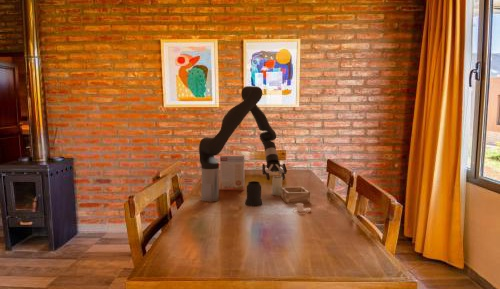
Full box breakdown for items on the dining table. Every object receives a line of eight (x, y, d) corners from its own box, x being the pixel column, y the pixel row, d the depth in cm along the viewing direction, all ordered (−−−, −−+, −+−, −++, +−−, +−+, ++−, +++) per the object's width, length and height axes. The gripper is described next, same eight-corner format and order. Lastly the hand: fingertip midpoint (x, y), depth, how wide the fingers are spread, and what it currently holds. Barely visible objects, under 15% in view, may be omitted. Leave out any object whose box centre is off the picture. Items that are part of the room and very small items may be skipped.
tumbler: (280, 195, 180) (280, 178, 179) (270, 194, 182) (271, 177, 181) (283, 193, 185) (283, 176, 184) (273, 192, 187) (274, 175, 186)
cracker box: (244, 188, 196) (244, 154, 193) (243, 191, 190) (243, 156, 188) (222, 187, 197) (221, 154, 195) (220, 190, 191) (220, 155, 189)
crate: (309, 202, 167) (310, 192, 167) (286, 203, 165) (286, 193, 165) (302, 196, 180) (302, 186, 179) (280, 196, 178) (280, 187, 177)
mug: (261, 206, 160) (262, 184, 158) (243, 206, 161) (243, 184, 160) (264, 200, 171) (264, 179, 170) (247, 199, 173) (247, 178, 171)
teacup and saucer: (312, 211, 154) (313, 203, 153) (305, 216, 147) (306, 207, 147) (296, 208, 159) (296, 200, 158) (288, 212, 152) (288, 204, 152)
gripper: (261, 153, 191) (265, 176, 181) (284, 153, 193) (289, 175, 183) (259, 160, 196) (263, 183, 187) (282, 160, 199) (286, 182, 189)
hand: (276, 179), depth 185 cm, fingers open, 8 cm apart
